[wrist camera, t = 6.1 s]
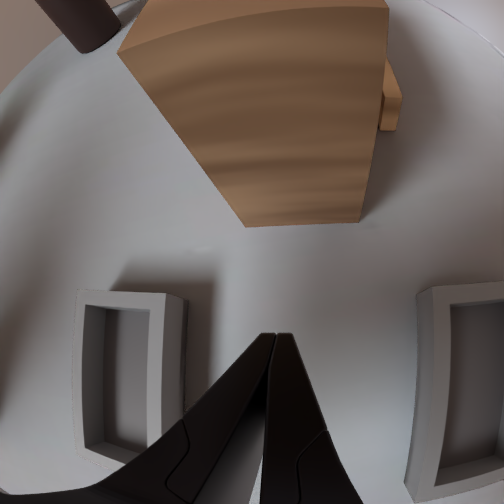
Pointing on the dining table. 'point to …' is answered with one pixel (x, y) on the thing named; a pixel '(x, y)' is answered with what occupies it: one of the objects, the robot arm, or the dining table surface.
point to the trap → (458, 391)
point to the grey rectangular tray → (126, 372)
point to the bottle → (82, 21)
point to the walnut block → (269, 98)
